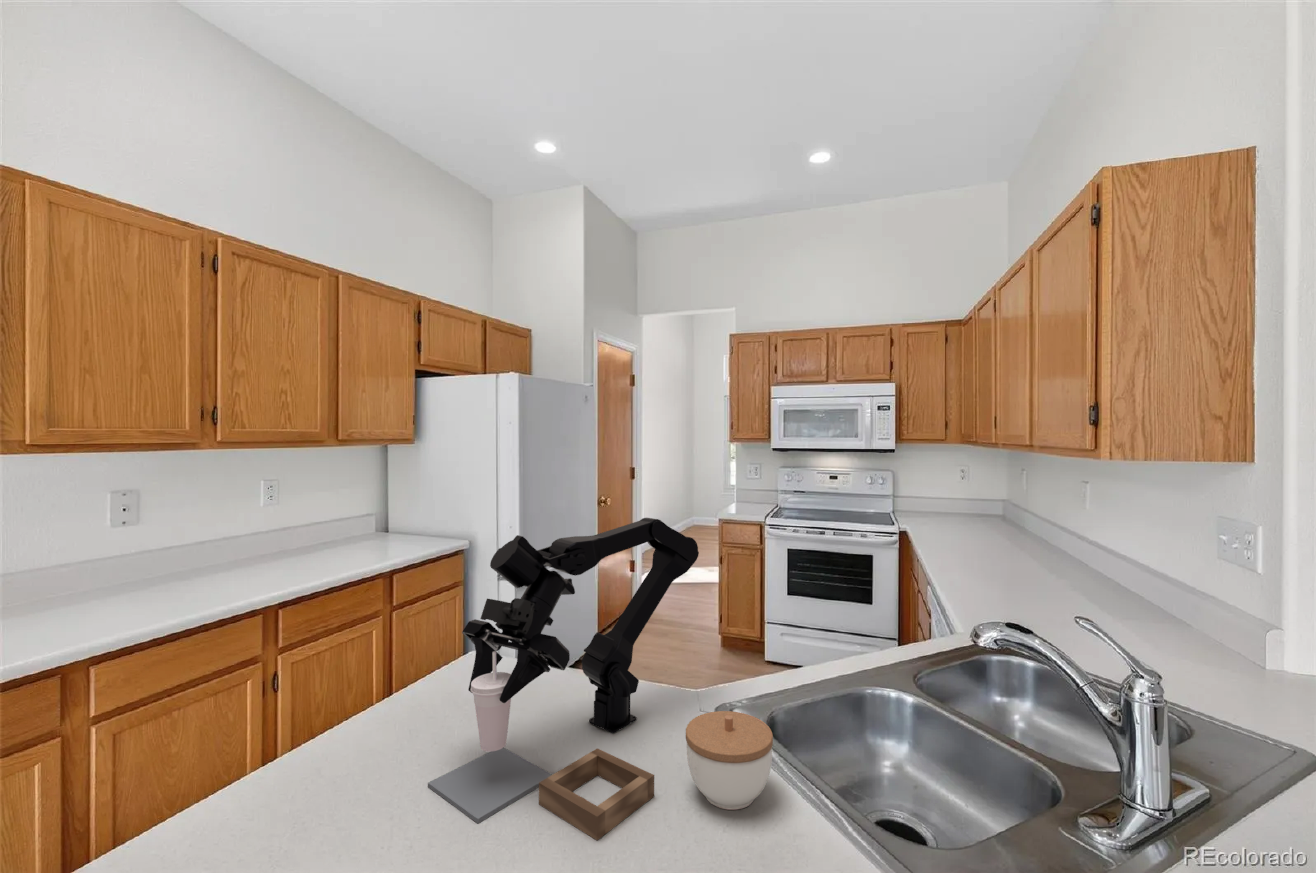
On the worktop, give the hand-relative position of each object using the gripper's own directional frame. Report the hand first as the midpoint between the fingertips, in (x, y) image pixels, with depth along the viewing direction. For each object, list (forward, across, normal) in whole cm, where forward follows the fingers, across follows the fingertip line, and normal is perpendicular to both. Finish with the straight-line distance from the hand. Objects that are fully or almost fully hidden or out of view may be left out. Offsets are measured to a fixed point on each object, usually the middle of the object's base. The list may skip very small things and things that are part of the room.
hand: (485, 696), depth 82 cm
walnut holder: (+5, +16, +14) cm, 22 cm away
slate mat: (+9, 0, +10) cm, 13 cm away
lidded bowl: (-2, +32, +22) cm, 38 cm away
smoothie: (+5, 0, +6) cm, 8 cm away
